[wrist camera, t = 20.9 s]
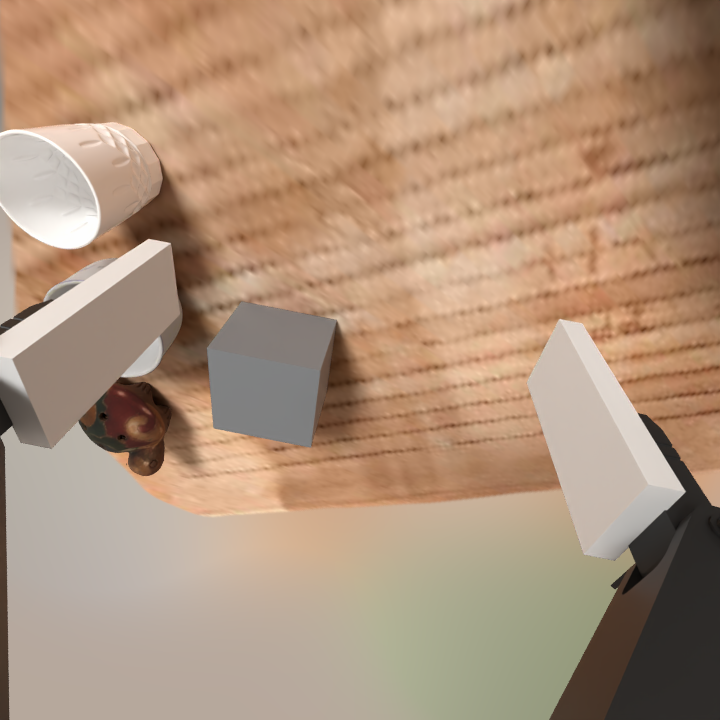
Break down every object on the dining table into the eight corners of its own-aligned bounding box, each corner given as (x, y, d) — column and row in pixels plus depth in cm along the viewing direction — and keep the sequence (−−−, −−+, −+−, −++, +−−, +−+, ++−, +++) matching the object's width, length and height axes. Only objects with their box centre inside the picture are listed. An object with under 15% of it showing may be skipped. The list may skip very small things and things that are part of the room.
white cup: (87, 93, 34) (-17, 103, 26) (179, 148, 35) (108, 174, 27) (76, 181, 38) (-16, 213, 30) (159, 226, 40) (92, 268, 32)
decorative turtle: (162, 446, 59) (126, 491, 53) (80, 366, 53) (27, 406, 47) (208, 427, 55) (174, 474, 49) (124, 339, 49) (72, 378, 43)
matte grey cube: (336, 320, 43) (320, 370, 36) (326, 392, 49) (310, 447, 42) (241, 301, 43) (206, 348, 36) (243, 375, 49) (213, 428, 42)
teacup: (153, 231, 40) (102, 264, 34) (215, 323, 46) (182, 366, 39) (55, 276, 44) (-7, 312, 38) (123, 355, 50) (79, 398, 44)
